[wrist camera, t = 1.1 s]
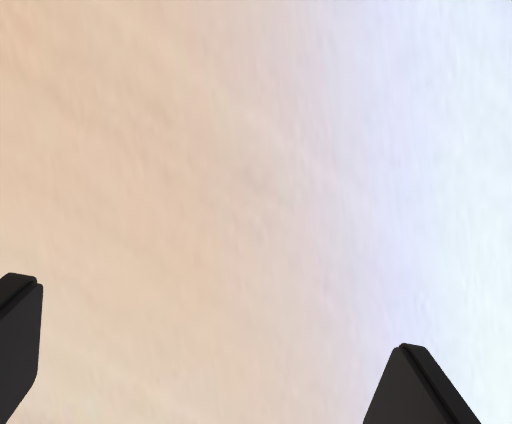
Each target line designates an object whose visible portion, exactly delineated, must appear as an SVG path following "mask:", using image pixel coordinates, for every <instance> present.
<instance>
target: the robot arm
mask: <svg viewBox="0 0 512 424" xmlns="http://www.w3.org/2000/svg"><path fill="white" fill-rule="evenodd" d="M42 300H43V285H42V284H39V283H37V279H36V278H35V277H34V276H28V275H22V274H17V273H8V274H6V275H5V276H3V277H2V278H1V279H0V424H6V422H7V421H8V419H9V418H10V417H11V415H12V414H13V412H14V411H15V409H16V408H17V407H18V405H19V404H20V402H21V401H22V400H23V398H24V397H25V395H26V394H27V392H28V391H29V390H30V388H31V387H32V385H33V383H34V381H35V378H36V375H37V370H38V356H39V342H40V328H41V314H42ZM363 424H481V423H480V421H479V420H478V418H477V417H476V416H475V414H474V413H473V412H472V410H471V409H470V408H469V406H468V405H467V403H466V402H465V401H464V399H463V398H462V397H461V395H460V394H459V392H458V391H457V390H456V388H455V387H454V386H453V384H452V383H451V381H450V380H449V379H448V377H447V376H446V375H445V373H444V372H443V371H442V369H441V368H440V366H439V365H438V364H437V362H436V361H435V360H434V358H433V357H432V355H431V354H430V353H429V351H428V350H427V349H426V348H425V347H423V346H418V345H412V344H407V343H402V344H401V345H400V346H399V347H396V348H394V349H393V351H392V353H391V355H390V358H389V360H388V363H387V365H386V367H385V370H384V372H383V375H382V377H381V379H380V382H379V384H378V387H377V389H376V392H375V394H374V396H373V399H372V401H371V404H370V406H369V408H368V411H367V413H366V416H365V418H364V421H363Z"/></svg>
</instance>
